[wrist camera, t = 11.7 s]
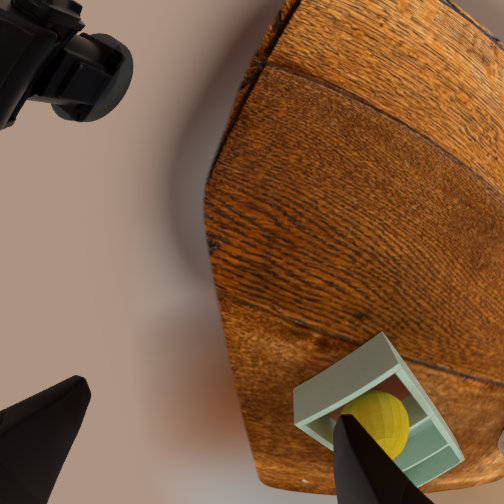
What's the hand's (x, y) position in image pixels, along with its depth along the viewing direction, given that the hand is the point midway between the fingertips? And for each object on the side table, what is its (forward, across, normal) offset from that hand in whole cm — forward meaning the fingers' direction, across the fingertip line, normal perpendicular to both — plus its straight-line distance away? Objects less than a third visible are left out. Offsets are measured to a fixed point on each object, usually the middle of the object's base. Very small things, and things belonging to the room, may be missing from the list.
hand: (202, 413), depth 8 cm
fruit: (+11, -11, +10) cm, 18 cm away
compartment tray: (+11, -16, +15) cm, 25 cm away
